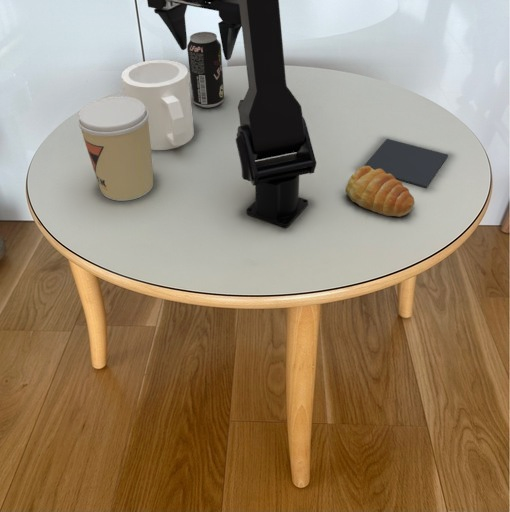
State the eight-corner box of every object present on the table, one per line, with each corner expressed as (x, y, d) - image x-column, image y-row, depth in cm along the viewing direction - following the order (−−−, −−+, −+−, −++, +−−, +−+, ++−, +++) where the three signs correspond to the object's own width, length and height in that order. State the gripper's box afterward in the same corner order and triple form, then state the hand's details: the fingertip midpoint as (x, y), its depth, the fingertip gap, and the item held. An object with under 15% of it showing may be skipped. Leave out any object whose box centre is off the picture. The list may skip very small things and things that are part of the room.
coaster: (426, 188, 82) (426, 186, 82) (361, 169, 86) (361, 167, 86) (447, 156, 88) (448, 154, 88) (386, 140, 92) (386, 138, 92)
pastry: (423, 205, 79) (428, 182, 76) (394, 227, 76) (398, 204, 73) (368, 179, 84) (370, 156, 82) (338, 198, 81) (340, 176, 78)
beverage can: (218, 93, 107) (214, 28, 99) (228, 106, 103) (224, 39, 95) (189, 98, 105) (182, 33, 97) (198, 112, 101) (191, 44, 93)
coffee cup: (92, 175, 87) (74, 101, 79) (153, 164, 89) (141, 90, 81) (98, 209, 80) (79, 132, 72) (164, 197, 82) (153, 120, 74)
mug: (214, 147, 92) (209, 84, 85) (155, 166, 88) (145, 101, 81) (178, 114, 101) (170, 54, 94) (123, 130, 97) (111, 69, 90)
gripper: (276, -52, 89) (276, 48, 99) (181, -64, 97) (190, 30, 107) (237, -34, 82) (241, 71, 92) (137, -49, 90) (151, 50, 100)
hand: (205, 54), depth 98 cm, fingers open, 9 cm apart
